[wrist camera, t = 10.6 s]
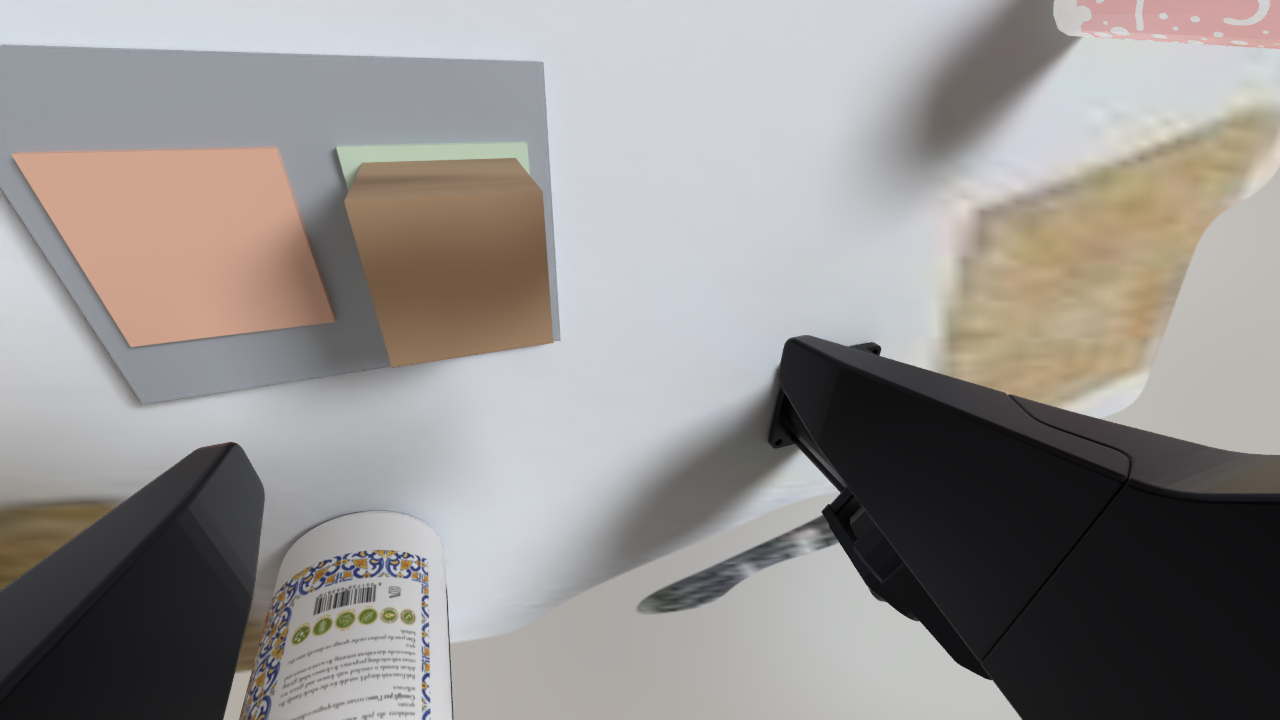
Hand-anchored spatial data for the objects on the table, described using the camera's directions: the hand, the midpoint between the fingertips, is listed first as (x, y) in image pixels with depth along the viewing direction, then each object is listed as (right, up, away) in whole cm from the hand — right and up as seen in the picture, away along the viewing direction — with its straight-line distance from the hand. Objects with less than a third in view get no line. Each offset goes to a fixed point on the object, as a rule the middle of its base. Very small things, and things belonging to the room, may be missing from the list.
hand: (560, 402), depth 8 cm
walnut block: (-5, +5, +8) cm, 11 cm away
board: (-9, +5, +8) cm, 13 cm away
